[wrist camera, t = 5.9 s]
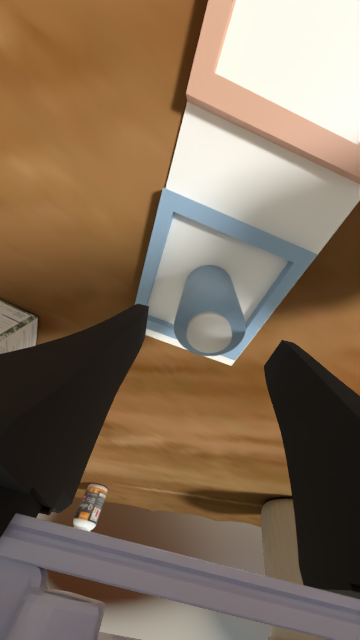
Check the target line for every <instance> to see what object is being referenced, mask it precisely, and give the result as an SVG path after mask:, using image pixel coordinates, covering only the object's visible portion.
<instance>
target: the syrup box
mask: <svg viewBox="0 0 360 640" xmlns="http://www.w3.org/2000/svg"><path fill="white" fill-rule="evenodd" d="M37 325H38V317H37V316H35V315H32V314H30V313H28V312H26V311H24V310H22V309H19V308H17V307H15V306H13V305H11V304H9V303H7V302H5V301H3V300H0V354H2V353H7V352H11V351H16V350H20V349H24V348H28V347H32V346H36V338H37Z"/></svg>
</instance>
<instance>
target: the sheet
mask: <svg viewBox="0 0 360 640" xmlns="http://www.w3.org/2000/svg"><path fill="white" fill-rule="evenodd" d="M215 73H216V74H218V75H220V76H222V77H224V78H226V79H228V80H230V81H232V82H234V83H236V84H238V85H240V86H242V87H244V88H246V89H248V90H250V91H252V92H254V93H256V94H258V95H259V96H261V97H263V98H265V99H267V100H269V101H271V102H273V103H275V104H277V105H279V106H281V107H283V108H285V109H287V110H289V111H291V112H293V113H295V114H297V115H299V116H301V117H303V118H305V119H307V120H309V121H311V122H313V123H315V124H317V125H319V126H321V127H323V128H325V129H327V130H329V131H331V132H333V133H335V134H337V135H339V136H341V137H343V138H345V139H347V140H349V141H351V142H353V143H355V144H357V145H359V146H360V0H236V3H235V6H234V10H233V13H232V17H231V20H230V23H229V27H228V30H227V34H226V37H225V41H224V44H223V48H222V51H221V54H220V58H219V61H218V65H217V68H216V72H215ZM166 189H168V190H170V191H173V192H175V193H177V194H180V195H182V196H184V197H186V198H189V199H191V200H193V201H196V202H198V203H200V204H203V205H205V206H207V207H209V208H212V209H214V210H216V211H219V212H221V213H223V214H226V215H228V216H230V217H232V218H235V219H237V220H239V221H242V222H244V223H246V224H249V225H251V226H253V227H255V228H258V229H260V230H262V231H265V232H267V233H269V234H272V235H274V236H276V237H278V238H281V239H283V240H285V241H288V242H290V243H292V244H295V245H297V246H299V247H301V248H304V249H306V250H308V251H311V252H313V253H315V254H317V255H318V254H319V252H320V251H321V250H322V248H323V247H324V246H325V245H326V243H327V242H328V241H329V239H330V238H331V237H332V236H333V234H334V233H335V232H336V230H337V229H338V228H339V227H340V225H341V224H342V223H343V221H344V220H345V219H346V217H347V216H348V215H349V214H350V212H351V211H352V210H353V208H354V207H355V206H356V205H357V203H358V202H359V201H360V184H358V183H356V182H354V181H352V180H350V179H347V178H345V177H343V176H341V175H339V174H337V173H335V172H333V171H331V170H329V169H327V168H325V167H323V166H320V165H318V164H316V163H314V162H312V161H310V160H308V159H306V158H304V157H302V156H300V155H298V154H296V153H294V152H291V151H289V150H287V149H285V148H283V147H281V146H279V145H277V144H275V143H273V142H271V141H269V140H267V139H265V138H262V137H260V136H258V135H256V134H254V133H252V132H250V131H248V130H246V129H244V128H242V127H240V126H238V125H236V124H233V123H231V122H229V121H227V120H225V119H223V118H221V117H219V116H217V115H215V114H213V113H211V112H209V111H206V110H204V109H202V108H200V107H198V106H196V105H194V104H192V103H190V102H188V101H187V104H186V109H185V113H184V117H183V121H182V125H181V129H180V133H179V137H178V141H177V145H176V149H175V153H174V157H173V161H172V165H171V169H170V173H169V177H168V181H167V185H166ZM314 259H315V258H314ZM314 259H313V260H314ZM288 262H289V261H288V260H286V259H284V258H281V257H279V256H277V255H274V254H272V253H270V252H267V251H265V250H263V249H260V248H258V247H255V246H253V245H251V244H248V243H246V242H244V241H241V240H239V239H237V238H234V237H232V236H230V235H227V234H225V233H223V232H220V231H218V230H216V229H213V228H211V227H208V226H206V225H204V224H201V223H199V222H197V221H194V220H192V219H190V218H187V217H185V216H183V215H180V214H178V213H176V212H175V213H174V216H173V220H172V223H171V226H170V230H169V233H168V237H167V240H166V244H165V247H164V251H163V254H162V257H161V261H160V264H159V268H158V271H157V275H156V278H155V281H154V285H153V288H152V292H151V295H150V299H149V302H148V306H149V311H148V315H150V316H152V317H155V318H158V319H161V320H163V321H166V322H169V323H171V324H174V321H175V317H176V313H177V310H178V306H179V303H180V299H181V296H182V292H183V289H184V285H185V282H186V279H187V277H188V276H189V274H190V273H191V272H192V271H193V270H195V269H196V268H198V267H201V266H204V265H214V266H218V267H220V268H222V269H224V270H225V271H226V272H227V273H228V274H229V276H230V277H231V280H232V283H233V286H234V289H235V292H236V295H237V298H238V301H239V304H240V307H241V310H242V313H243V316H244V319H245V322H247V320H248V319H249V317H250V316H251V314H252V313H253V312H254V310H255V309H256V307H257V306H258V304H259V303H260V302H261V300H262V299H263V297H264V296H265V295H266V293H267V292H268V290H269V289H270V287H271V286H272V285H273V283H274V282H275V280H276V279H277V277H278V276H279V275H280V273H281V272H282V270H283V269H284V267H285V266H286V265H287V263H288ZM311 263H312V262H311ZM311 263H310V264H311ZM307 268H308V267H307ZM304 272H305V271H304ZM304 272H303V273H304ZM300 277H301V276H300ZM297 281H298V280H297ZM297 281H296V282H297ZM293 286H294V285H293ZM290 290H291V289H290ZM290 290H289V291H290ZM286 295H287V294H286ZM283 299H284V298H283ZM283 299H282V300H283ZM279 304H280V303H279ZM276 308H277V307H276ZM276 308H275V309H276ZM272 313H273V312H272ZM269 317H270V316H269ZM266 321H267V320H266ZM266 321H265V322H266ZM262 326H263V325H262ZM259 330H260V329H259ZM259 330H258V331H259ZM145 335H147V336H150V337H153V338H156V339H158V340H161V341H164V342H167V343H169V344H172V345H175V346H178V347H181V348H183V349H186V348H184V347H183V346H182V345H181V344H180V343H179V341H178V340H177V339H174V338H171V337H169V336H166V335H163V334H160V333H158V332H155V331H152V330H149V329H147V328H146V334H145ZM255 335H256V334H255ZM252 339H253V338H252ZM252 339H251V340H252ZM248 344H249V343H248ZM245 348H246V347H245ZM245 348H244V349H245ZM186 350H187V349H186ZM241 353H242V352H241ZM206 357H208V358H211V359H214V360H217V361H219V362H222V363H225V364H228V365H230V366H232V364H233V363H234V362H235V360H232V359H229V358H226V357H224V356H221V355H217V356H206ZM238 357H239V356H238ZM238 357H237V358H238Z"/></svg>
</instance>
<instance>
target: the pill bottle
mask: <svg viewBox="0 0 360 640" xmlns="http://www.w3.org/2000/svg"><path fill="white" fill-rule="evenodd" d="M106 494H107V488H106V487H104V486H102V485H99V484H94V483H92V484H89V485H88V487H87V490H86V492H85V494H84V496H83V499H82V501H81V504H80V506H79V508H78V510H77V513H76V515H75V517H74V521H73V524H74V528H77V529H81V530H85V531H89V532H90V531H91V530H92V529H93V528H94V527H95V525H96V522H97V520H98V517H99V514H100V511H101V509H102V506H103V503H104V500H105V497H106Z"/></svg>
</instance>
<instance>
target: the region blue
mask: <svg viewBox="0 0 360 640" xmlns="http://www.w3.org/2000/svg"><path fill="white" fill-rule="evenodd" d="M175 212H176V213H178V214H180V215H183V216H185V217H187V218H190V219H192V220H194V221H197V222H199V223H201V224H204V225H206V226H208V227H211V228H213V229H216V230H218V231H220V232H223V233H225V234H227V235H230V236H232V237H234V238H237V239H239V240H241V241H244V242H246V243H248V244H251V245H253V246H255V247H258V248H260V249H263V250H265V251H267V252H270V253H272V254H274V255H277V256H279V257H281V258H284V259H286V260H288V261H289V262H288V263H287V265H286V266H285V267H284V269H283V270H282V272H281V273H280V275H279V276H278V277H277V279H276V280H275V282H274V283H273V285H272V286H271V287H270V289H269V290H268V292H267V293H266V295H265V296H264V297H263V299H262V300H261V302H260V303H259V304H258V306H257V307H256V309H255V310H254V312H253V313H252V314H251V316H250V317H249V319H248V320H247V322H246V332H245V335H244V337H243V339H242V341H241V342H240V344H239V345H238V346H237V347H235V348H234V349H233V350H231V351H229V352H227V353H225V354H222V355H221V356H224V357H226V358H229V359H232V360H236V359H237V357H238V356H239V355H240V354H241V352H242V351H243V350H244V348H245V347H246V346H247V345H248V343H249V342H250V341H251V339H252V338H253V337H254V336H255V334H256V333H257V332H258V330H259V329H260V328H261V327H262V325H263V324H264V323H265V321H266V320H267V319H268V318H269V316H270V315H271V314H272V312H273V311H274V310H275V308H276V307H277V306H278V305H279V303H280V302H281V301H282V299H283V298H284V297H285V296H286V294H287V293H288V292H289V290H290V289H291V288H292V287H293V285H294V284H295V283H296V281H297V280H298V279H299V278H300V276H301V275H302V274H303V272H304V271H305V270H306V269H307V267H308V266H309V265H310V263H311V262H312V261H313V259H314V258H315V257H316V256H317V254H315V253H313V252H311V251H308V250H306V249H304V248H301V247H299V246H297V245H295V244H292V243H290V242H288V241H285V240H283V239H281V238H278V237H276V236H274V235H272V234H269V233H267V232H265V231H262V230H260V229H258V228H255V227H253V226H251V225H249V224H246V223H244V222H242V221H239V220H237V219H235V218H232V217H230V216H228V215H226V214H223V213H221V212H219V211H216V210H214V209H212V208H209V207H207V206H205V205H203V204H200V203H198V202H196V201H193V200H191V199H189V198H186V197H184V196H182V195H180V194H177V193H175V192H173V191H170V190H168V189H166V188H164V187H163V190H162V194H161V198H160V202H159V206H158V210H157V214H156V219H155V223H154V227H153V231H152V235H151V239H150V243H149V248H148V252H147V256H146V260H145V264H144V268H143V272H142V276H141V281H140V285H139V289H138V293H137V297H136V301H135V305H136V304H142V305H146V306H148V302H149V299H150V295H151V292H152V288H153V285H154V281H155V278H156V275H157V271H158V268H159V264H160V261H161V257H162V254H163V251H164V247H165V244H166V240H167V237H168V233H169V230H170V226H171V223H172V220H173V216H174V213H175ZM146 328H147V329H149V330H152V331H155V332H158V333H160V334H163V335H166V336H169V337H171V338H174V339H177V338H176V336H175V333H174V324H171V323H169V322H166V321H163V320H161V319H158V318H155V317H152V316H150V315H148V319H147V326H146Z"/></svg>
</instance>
